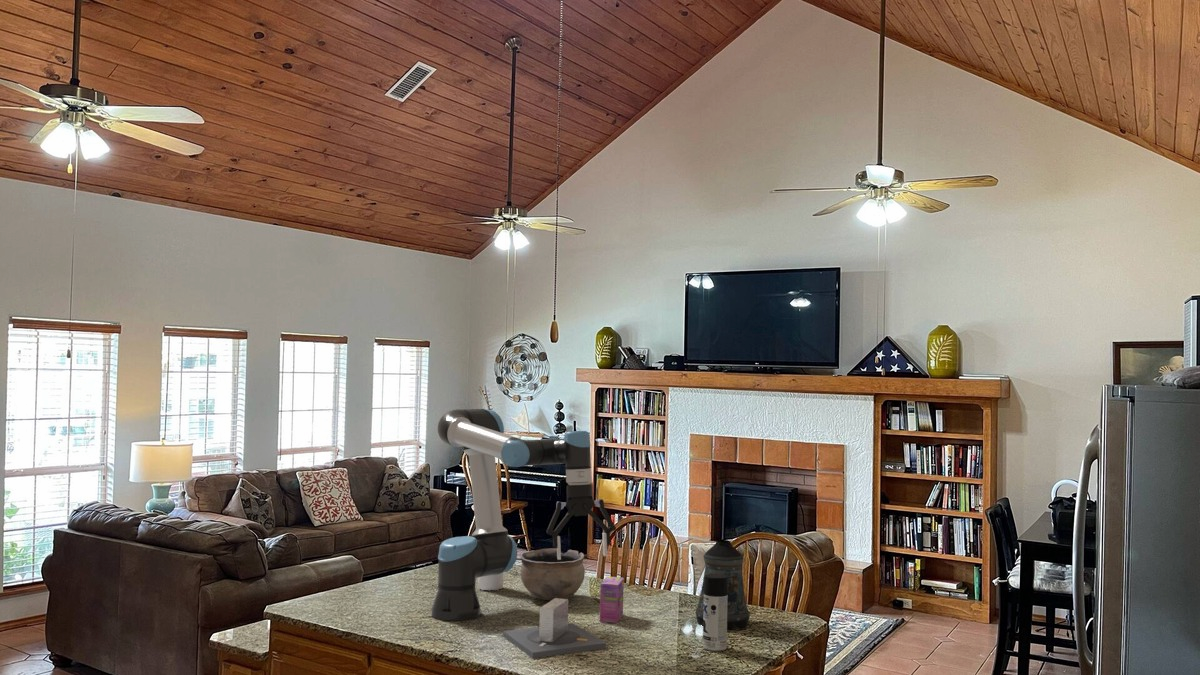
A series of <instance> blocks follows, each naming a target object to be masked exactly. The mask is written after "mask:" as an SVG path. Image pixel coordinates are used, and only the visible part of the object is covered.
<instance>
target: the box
mask: <svg viewBox="0 0 1200 675" xmlns="http://www.w3.org/2000/svg"><path fill="white" fill-rule="evenodd" d="M624 584H625V578H624V577H620V576H619V577H618V576H606V577H605V578H604V579H603V581H602V582H601V583H600V594H599V595H600V597H599V598H600V599H599V600H600V601H599V622H600V623H605V622H612V623H611V624H618V623H619V621H620V620H621V618H622V617H623V615H624V590H625V589H624V586H625V585H624Z"/></svg>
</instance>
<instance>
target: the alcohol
mask: <svg viewBox="0 0 1200 675" xmlns="http://www.w3.org/2000/svg"><path fill="white" fill-rule="evenodd" d="M477 587H478V589H479V590H480V589H481V590H480V591H483V590H489V591H488V592H491V591H490V590H497V591H500V590H499V589H501V588H503V587H504V573H501V574H497V575H489V576H483V577H477ZM501 590H502V589H501Z"/></svg>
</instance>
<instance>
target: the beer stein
mask: <svg viewBox="0 0 1200 675" xmlns="http://www.w3.org/2000/svg"><path fill="white" fill-rule="evenodd" d="M744 560H745V557H744V556H743V555H742V553H741V552H740V551H739V550H738V549H737V548H735V546H733V545H732V543H731V540H728V539H718V540H716V542H715V544H714V545H712V547H710V548H709V549H708V550H707V551H706V552H705V553H704V554H703V561H704V564H705V566H704V573H703V577H702V585H701V590H700V596H699V600H698V603H697V606H696V609H695V618H696V622H698V623H697V624H698V625H699V626H700V625H702V626H703V607H704V576H705V575H706V574H722V575H726V576H727V577H728V599H727V631H738V630H743V629H744V630H745V629H746V628H747V627H748V626H749V620H750V617H751V613H750V610H749V609H748V607H747V601H746V595H745V594H746V593H745V585H744V576H743V571H742V566H743V563H744ZM702 626H701V627H702Z"/></svg>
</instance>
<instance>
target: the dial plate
mask: <svg viewBox="0 0 1200 675" xmlns="http://www.w3.org/2000/svg"><path fill="white" fill-rule="evenodd" d="M539 627H540V626H536V627H529V628H528V627H526V628H519V629H509V630H502V637H503V638H505V639H506V640H507V641H508V642H510V643H511V644H513V645H514V646H515V647H517V648H518V649H520V650H521V651H522V652H524V653H525V654H526V655H527V656H528V657H530V658H532V659H537V658H544V657H551V656H559V655H560V656H561V655H567V654H575V653H582V652H591V651H596V650H604V649H607V642H605V641H604V640H602V639H600V638H599V637H597V636H596V635H593V634H592V633H591V632H588V631H587V630H585V629H583V628H581V627H580V626H578V625H577V624H575V623H573V622H570V623H569V622H568V631H567V632H566V633H564V634H563V635H562V636H560V637H559V638H558V639H557V640H555V641H554V642H545V641H539Z"/></svg>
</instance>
